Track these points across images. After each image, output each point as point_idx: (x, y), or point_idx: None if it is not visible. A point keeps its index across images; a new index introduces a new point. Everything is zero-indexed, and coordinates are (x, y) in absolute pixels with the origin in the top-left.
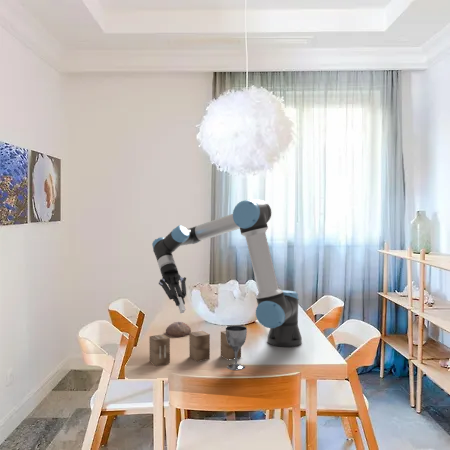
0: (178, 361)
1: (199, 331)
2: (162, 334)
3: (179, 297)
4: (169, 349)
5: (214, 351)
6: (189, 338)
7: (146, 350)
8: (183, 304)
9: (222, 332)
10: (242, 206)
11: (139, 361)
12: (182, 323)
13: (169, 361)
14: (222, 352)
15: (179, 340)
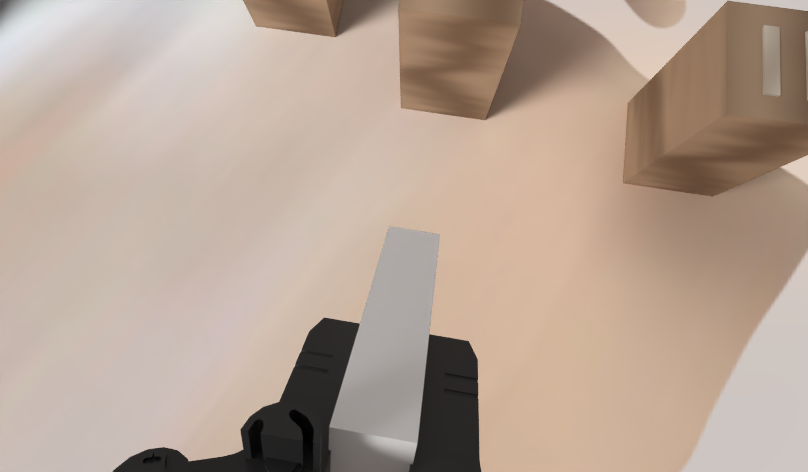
0: (573, 100)
1: (434, 4)
2: (738, 113)
3: (383, 424)
4: (675, 56)
5: (312, 110)
6: (509, 54)
7: (647, 390)
8: (380, 280)
9: None
10: None
11: (764, 231)
12: None
13: (636, 97)
14: (335, 2)
15: None
